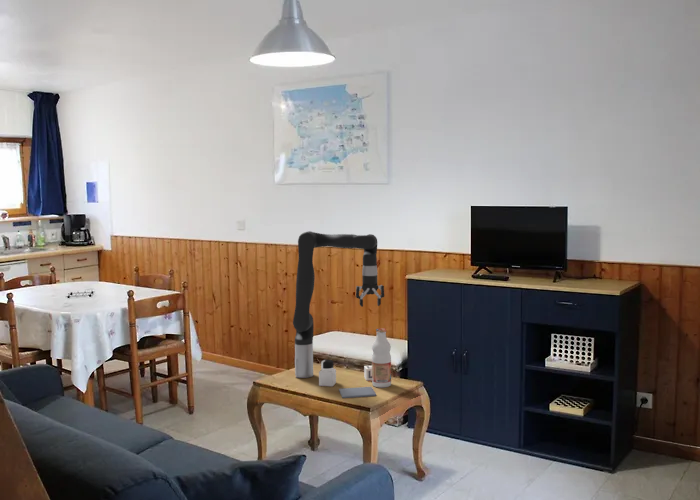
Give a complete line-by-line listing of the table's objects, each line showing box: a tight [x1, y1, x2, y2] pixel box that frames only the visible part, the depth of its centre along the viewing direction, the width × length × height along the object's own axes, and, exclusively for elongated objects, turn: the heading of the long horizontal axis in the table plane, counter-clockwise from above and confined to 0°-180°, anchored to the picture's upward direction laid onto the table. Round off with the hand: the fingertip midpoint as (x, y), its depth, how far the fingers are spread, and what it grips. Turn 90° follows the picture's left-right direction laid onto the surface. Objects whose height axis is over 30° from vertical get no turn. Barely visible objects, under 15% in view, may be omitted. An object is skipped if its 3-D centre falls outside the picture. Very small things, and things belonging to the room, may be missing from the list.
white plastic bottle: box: [371, 327, 392, 389], centre depth 319 cm, size 9×9×28 cm
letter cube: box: [363, 364, 372, 381], centre depth 331 cm, size 6×6×6 cm
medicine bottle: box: [318, 359, 337, 387], centre depth 322 cm, size 7×7×12 cm
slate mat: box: [338, 386, 377, 399], centre depth 308 cm, size 16×12×1 cm
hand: (370, 306), depth 328 cm, fingers open, 8 cm apart
